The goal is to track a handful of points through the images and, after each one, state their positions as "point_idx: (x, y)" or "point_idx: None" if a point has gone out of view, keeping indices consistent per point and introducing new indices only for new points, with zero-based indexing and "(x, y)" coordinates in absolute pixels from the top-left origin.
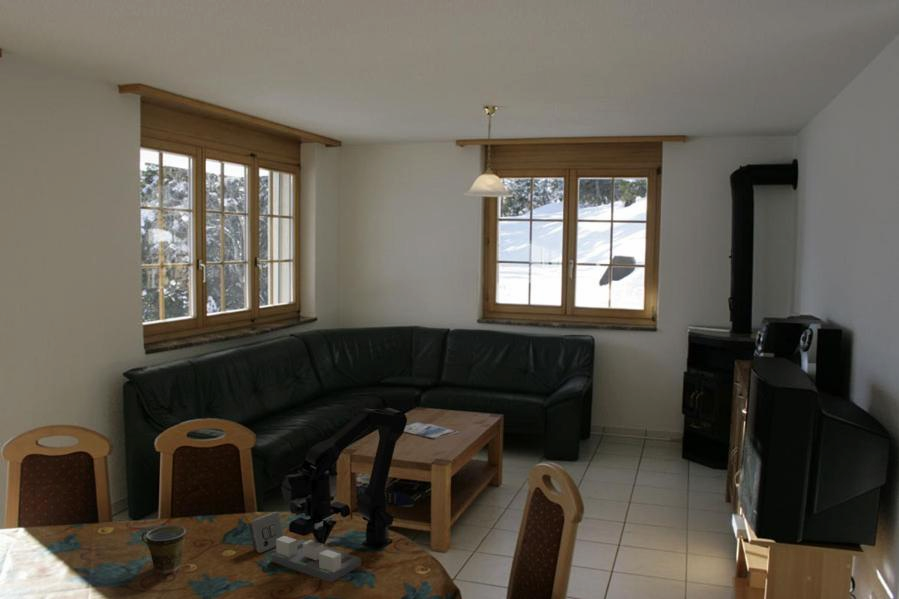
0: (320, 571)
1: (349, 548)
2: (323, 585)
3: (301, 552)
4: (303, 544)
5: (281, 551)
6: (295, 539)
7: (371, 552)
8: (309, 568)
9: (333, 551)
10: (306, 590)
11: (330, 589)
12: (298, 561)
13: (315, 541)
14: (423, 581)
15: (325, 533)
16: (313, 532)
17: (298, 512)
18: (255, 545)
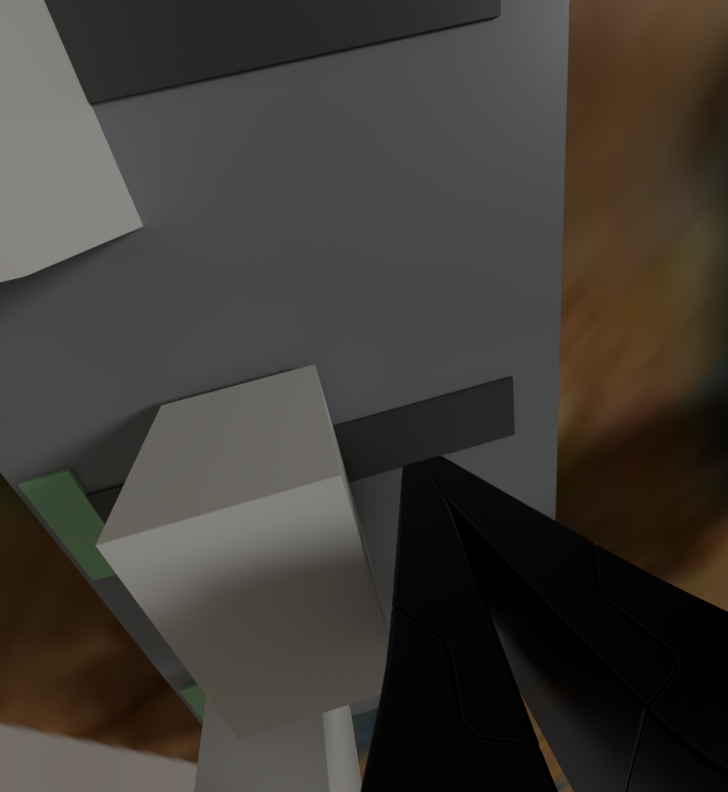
0: (186, 701)
1: (715, 342)
2: (169, 704)
3: (220, 244)
4: (111, 555)
5: None
6: None
7: (714, 495)
8: (126, 620)
9: (521, 466)
10: (23, 719)
11: (185, 745)
12: (53, 476)
13: (368, 577)
14: (558, 783)
15: (573, 763)
16: (390, 786)
17: None
18: None
